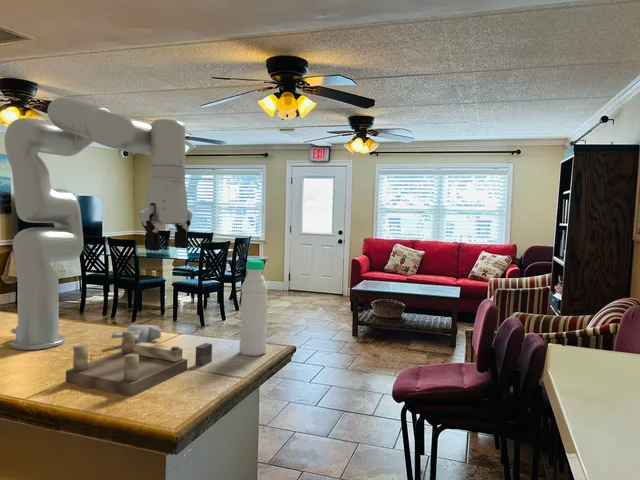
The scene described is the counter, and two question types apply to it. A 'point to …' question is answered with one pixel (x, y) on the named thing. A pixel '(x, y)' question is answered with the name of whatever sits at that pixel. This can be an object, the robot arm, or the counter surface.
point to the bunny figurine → (142, 333)
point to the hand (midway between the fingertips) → (167, 249)
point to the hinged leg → (158, 351)
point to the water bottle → (253, 310)
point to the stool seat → (128, 368)
